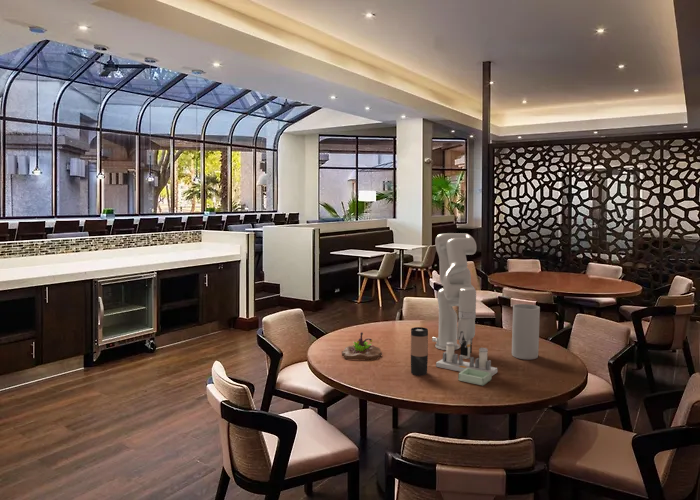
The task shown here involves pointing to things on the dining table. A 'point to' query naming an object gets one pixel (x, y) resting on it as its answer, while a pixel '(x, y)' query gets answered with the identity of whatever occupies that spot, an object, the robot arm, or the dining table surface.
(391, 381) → the dining table surface
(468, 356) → the fuse marked
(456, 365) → the holder
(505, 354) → the dining table surface
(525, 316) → the cylinder vase
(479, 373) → the tray
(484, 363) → the fuse right
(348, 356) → the plant
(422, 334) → the travel mug
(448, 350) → the cylinder
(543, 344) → the dining table surface
